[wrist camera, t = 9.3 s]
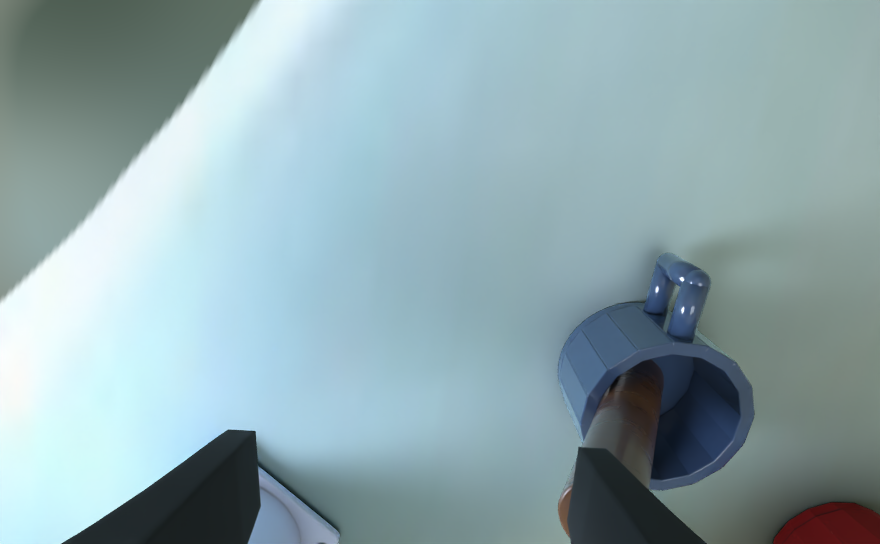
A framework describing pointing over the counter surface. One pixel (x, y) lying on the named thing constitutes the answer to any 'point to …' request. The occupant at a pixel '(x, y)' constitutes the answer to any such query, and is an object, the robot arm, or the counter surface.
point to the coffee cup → (664, 374)
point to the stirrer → (625, 425)
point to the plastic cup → (832, 526)
